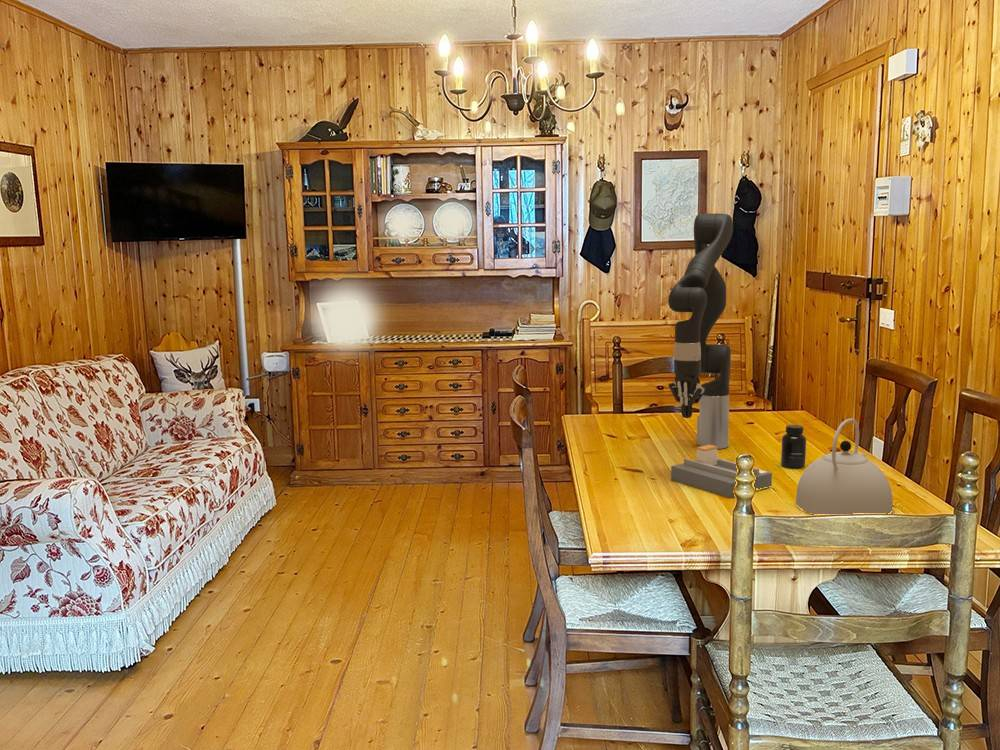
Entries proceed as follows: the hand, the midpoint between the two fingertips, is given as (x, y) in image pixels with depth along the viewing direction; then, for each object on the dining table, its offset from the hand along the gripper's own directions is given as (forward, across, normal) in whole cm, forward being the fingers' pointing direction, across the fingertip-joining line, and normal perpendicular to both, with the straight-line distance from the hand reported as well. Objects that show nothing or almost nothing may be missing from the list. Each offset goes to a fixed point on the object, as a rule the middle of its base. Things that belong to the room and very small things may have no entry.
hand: (686, 417), depth 248 cm
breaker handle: (+12, +8, 0) cm, 15 cm away
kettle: (+17, +45, +10) cm, 49 cm away
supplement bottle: (+17, +14, +30) cm, 37 cm away
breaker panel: (+17, +13, 0) cm, 21 cm away
